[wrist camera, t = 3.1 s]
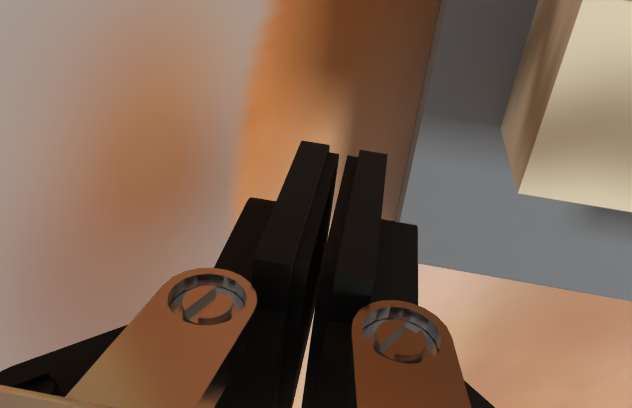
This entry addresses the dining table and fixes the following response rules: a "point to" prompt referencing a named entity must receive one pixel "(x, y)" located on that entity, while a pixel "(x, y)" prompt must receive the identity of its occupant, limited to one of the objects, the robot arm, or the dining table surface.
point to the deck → (496, 169)
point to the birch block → (574, 105)
